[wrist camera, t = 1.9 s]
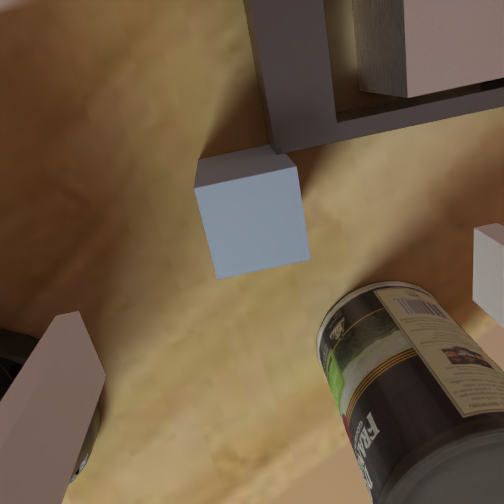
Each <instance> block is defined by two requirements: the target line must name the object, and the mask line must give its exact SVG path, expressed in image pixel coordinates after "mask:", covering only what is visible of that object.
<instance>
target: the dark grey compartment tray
mask: <svg viewBox="0 0 504 504" xmlns="http://www.w3.org/2000/svg"><path fill="white" fill-rule="evenodd" d="M243 1H244V6H245V12H246V18H247V23H248V29H249V35H250V40H251V46H252V52H253V57H254V63H255V69H256V74H257V80H258V86H259V91H260V97H261V103H262V108H263V114H264V120H265V125H266V131H267V137H268V142H269V145H270V147H271V148H272V149H273V151H274V152H275V154H276V155H278V154H283V153H288V152H292V151H297V150H302V149H306V148H311V147H316V146H321V145H325V144H330V143H335V142H339V141H344V140H349V139H353V138H358V137H363V136H367V135H372V134H377V133H381V132H386V131H391V130H395V129H400V128H405V127H409V126H414V125H419V124H423V123H428V122H433V121H437V120H442V119H447V118H451V117H456V116H461V115H465V114H470V113H475V112H479V111H484V110H489V109H493V108H498V107H503V106H504V77H503V78H499V79H494V80H489V81H485V82H480V83H475V84H471V85H466V86H461V87H457V88H452V89H447V90H443V91H438V92H433V93H429V94H424V95H419V96H415V97H410V98H404V99H400V100H395V101H390V102H386V103H381V104H376V105H372V106H367V107H362V108H358V109H353V110H348V111H344V112H339V113H336V112H335V103H334V93H333V84H332V75H331V66H330V57H329V48H328V39H327V30H326V21H325V12H324V3H323V0H243Z"/></svg>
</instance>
